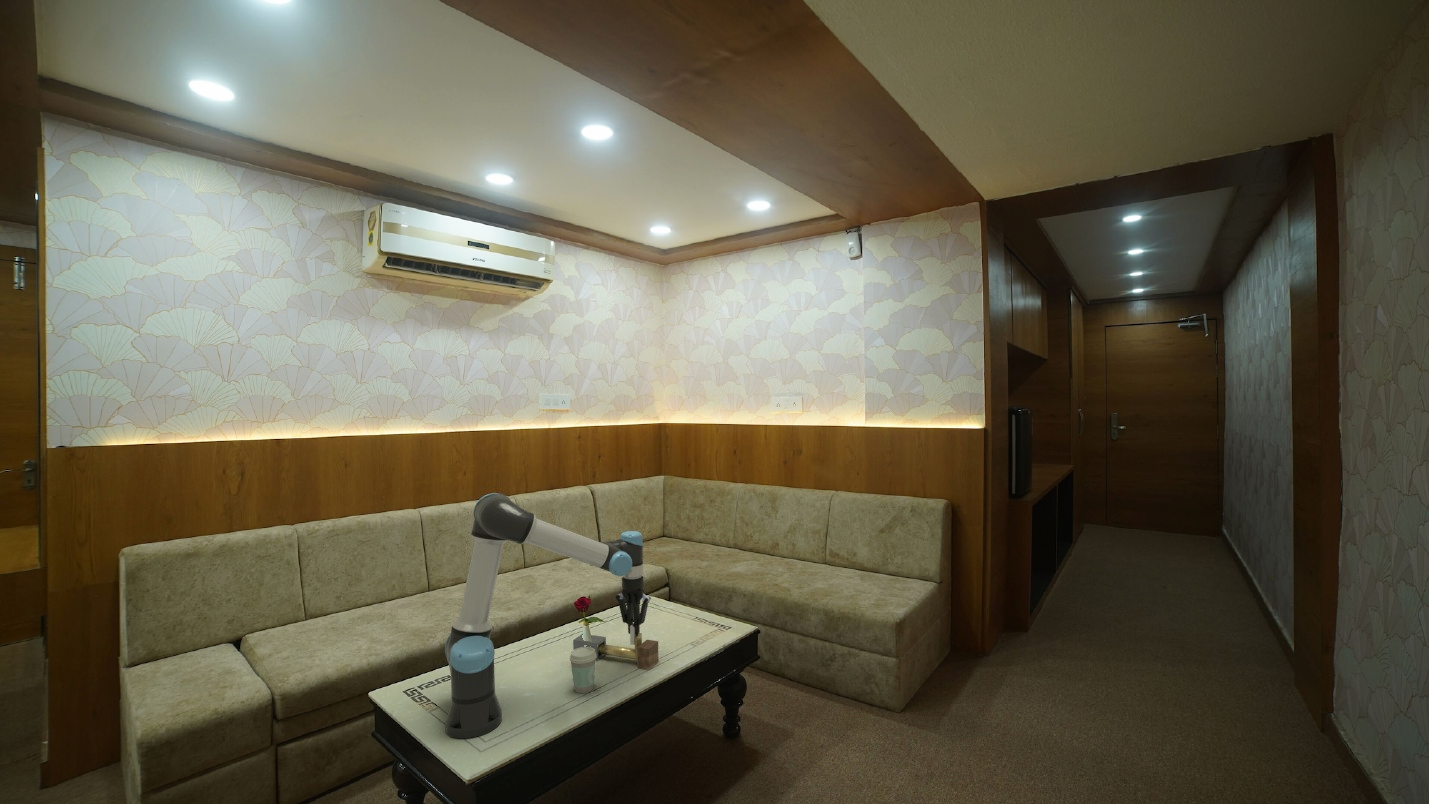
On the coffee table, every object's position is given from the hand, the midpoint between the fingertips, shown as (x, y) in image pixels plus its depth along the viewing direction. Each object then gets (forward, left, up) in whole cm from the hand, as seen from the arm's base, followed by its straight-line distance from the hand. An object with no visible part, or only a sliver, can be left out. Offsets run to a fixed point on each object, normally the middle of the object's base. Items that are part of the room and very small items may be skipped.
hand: (634, 643), depth 211 cm
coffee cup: (-20, -11, -7) cm, 24 cm away
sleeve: (-13, +13, -7) cm, 20 cm away
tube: (-4, +4, -6) cm, 9 cm away
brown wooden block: (+4, -4, -7) cm, 9 cm away
